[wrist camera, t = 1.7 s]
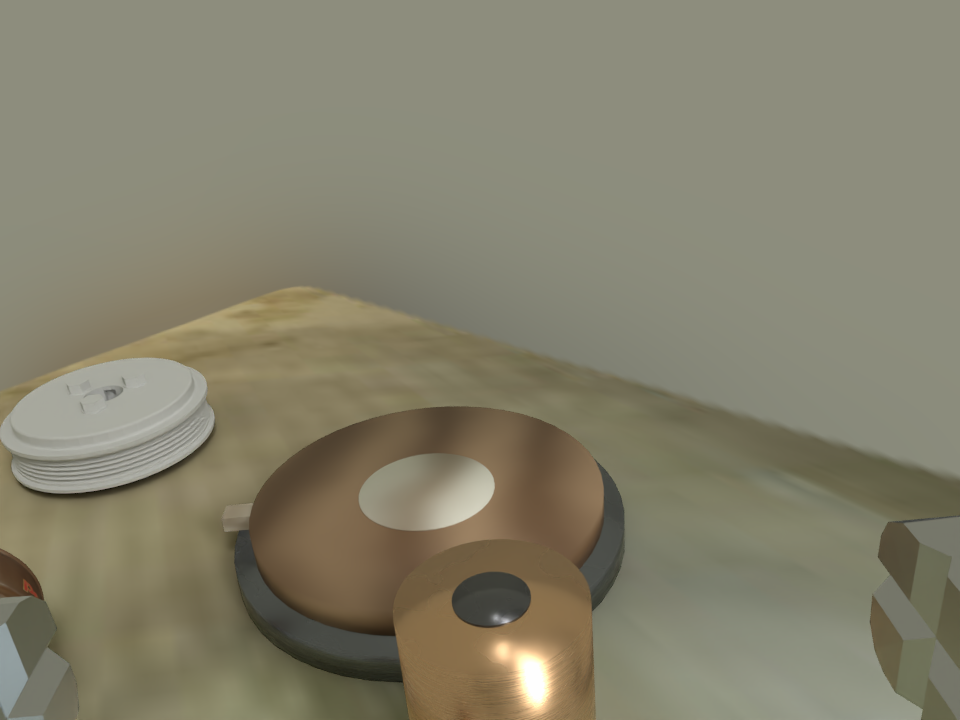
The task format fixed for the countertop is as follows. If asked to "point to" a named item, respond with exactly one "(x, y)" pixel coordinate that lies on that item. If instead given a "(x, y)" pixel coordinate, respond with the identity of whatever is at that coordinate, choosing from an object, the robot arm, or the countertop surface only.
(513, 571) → the canister
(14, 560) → the tin
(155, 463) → the lid
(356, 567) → the turntable
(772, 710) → the countertop surface
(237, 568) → the turntable base
